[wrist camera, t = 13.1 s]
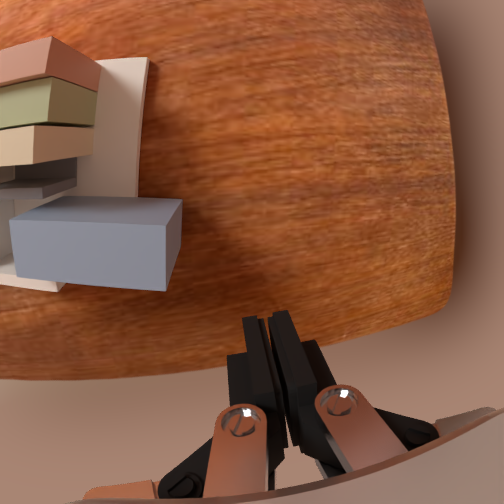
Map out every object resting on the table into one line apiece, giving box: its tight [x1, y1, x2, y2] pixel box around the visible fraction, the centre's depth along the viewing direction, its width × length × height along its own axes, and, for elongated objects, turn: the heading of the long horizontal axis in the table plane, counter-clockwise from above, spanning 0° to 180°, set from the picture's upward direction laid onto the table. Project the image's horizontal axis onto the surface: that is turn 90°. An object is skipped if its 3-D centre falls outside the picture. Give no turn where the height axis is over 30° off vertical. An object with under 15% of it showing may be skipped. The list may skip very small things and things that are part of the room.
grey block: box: [9, 196, 183, 291], centre depth 21 cm, size 4×11×8 cm, turn 84°
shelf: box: [0, 36, 150, 292], centre depth 18 cm, size 18×14×10 cm
